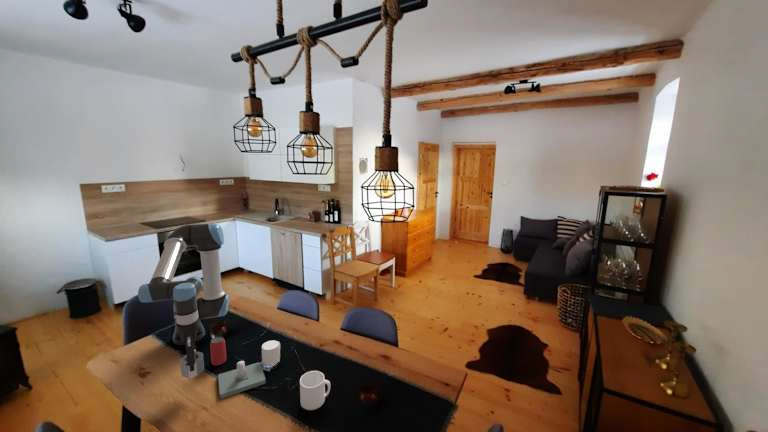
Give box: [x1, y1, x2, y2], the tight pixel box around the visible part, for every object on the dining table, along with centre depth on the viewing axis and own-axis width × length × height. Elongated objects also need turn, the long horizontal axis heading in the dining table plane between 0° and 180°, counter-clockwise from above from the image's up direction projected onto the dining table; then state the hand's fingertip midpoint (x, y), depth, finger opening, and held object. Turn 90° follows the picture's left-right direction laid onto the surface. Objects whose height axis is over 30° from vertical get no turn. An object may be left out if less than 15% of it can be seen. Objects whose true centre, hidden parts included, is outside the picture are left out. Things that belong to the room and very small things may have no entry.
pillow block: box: [217, 360, 267, 400], centre depth 135 cm, size 14×18×9 cm
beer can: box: [209, 336, 227, 366], centre depth 148 cm, size 7×7×12 cm
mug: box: [299, 370, 332, 411], centre depth 125 cm, size 13×10×10 cm
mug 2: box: [261, 339, 281, 366], centre depth 150 cm, size 12×9×8 cm
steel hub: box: [179, 350, 205, 379], centre depth 127 cm, size 8×8×6 cm
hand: (193, 369), depth 127 cm, fingers closed on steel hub, 8 cm apart
